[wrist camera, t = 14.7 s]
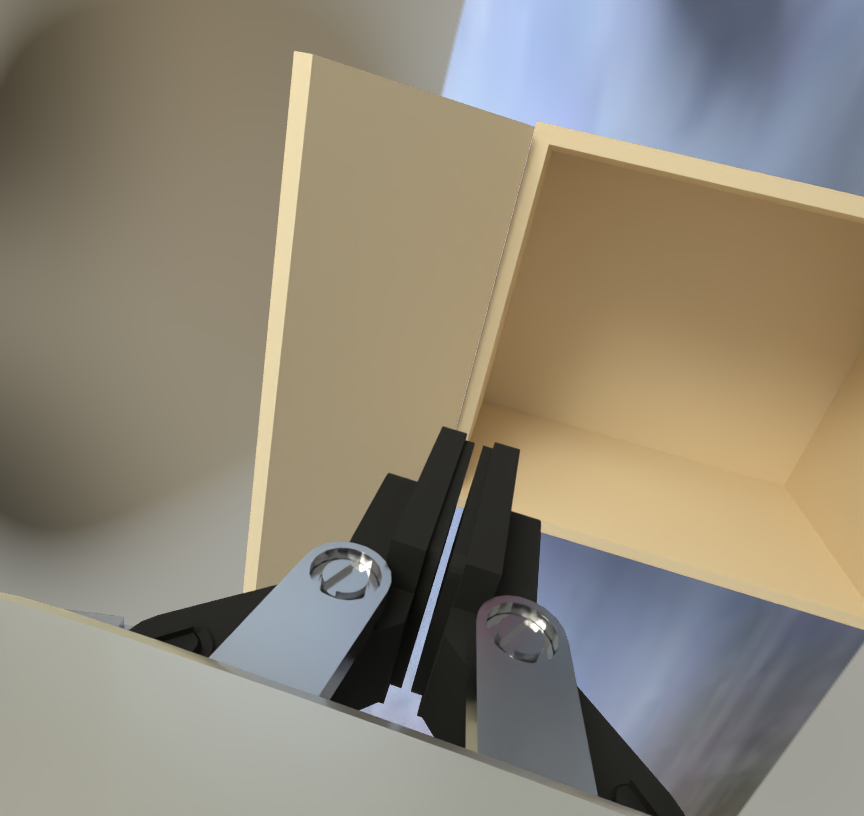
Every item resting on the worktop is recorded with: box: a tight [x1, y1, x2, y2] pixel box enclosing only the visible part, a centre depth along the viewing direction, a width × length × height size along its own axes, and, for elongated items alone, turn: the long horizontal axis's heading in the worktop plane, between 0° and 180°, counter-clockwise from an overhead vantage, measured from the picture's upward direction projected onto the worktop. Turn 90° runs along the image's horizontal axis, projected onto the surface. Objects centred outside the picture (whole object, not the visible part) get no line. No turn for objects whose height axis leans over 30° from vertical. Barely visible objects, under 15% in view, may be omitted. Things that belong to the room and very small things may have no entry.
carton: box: [456, 121, 864, 630], centre depth 27 cm, size 16×20×12 cm
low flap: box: [243, 51, 535, 593], centre depth 19 cm, size 16×10×1 cm
